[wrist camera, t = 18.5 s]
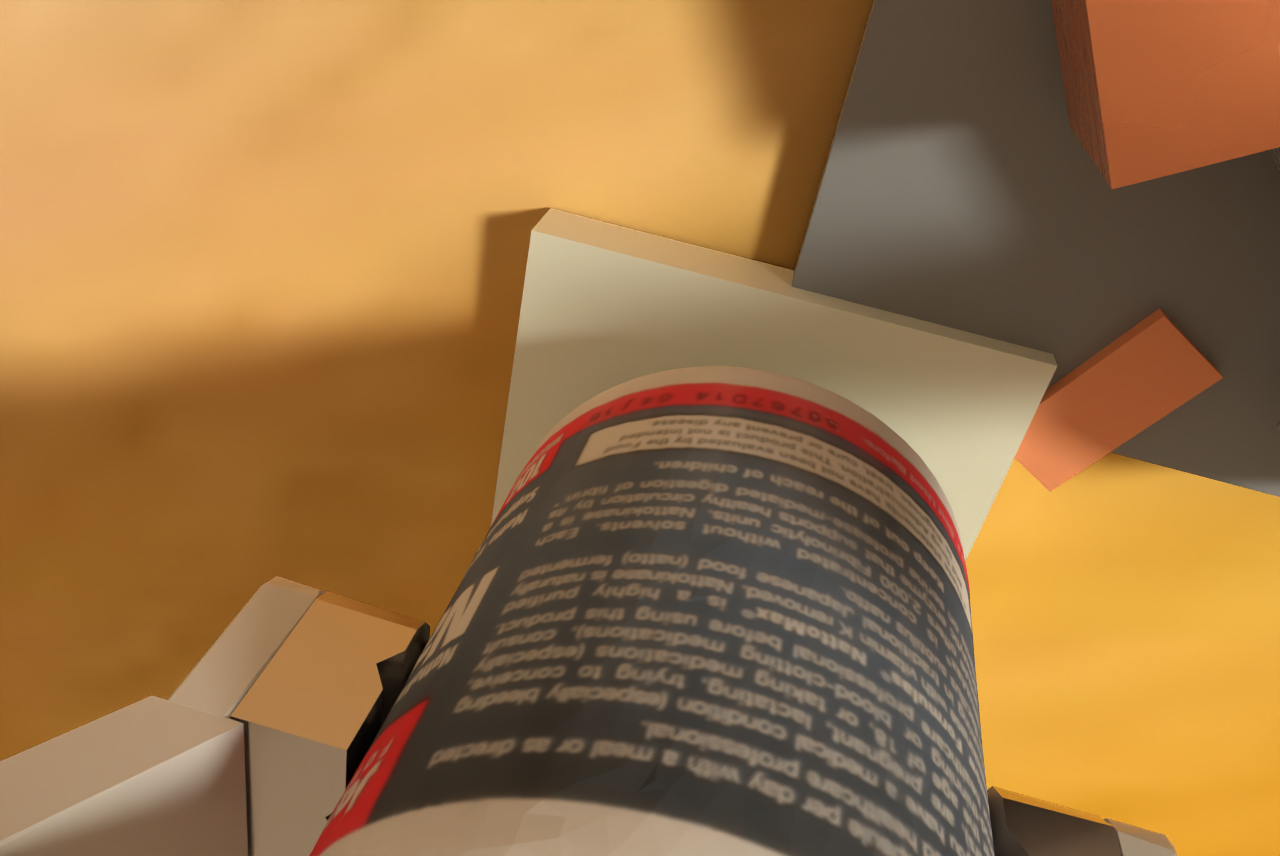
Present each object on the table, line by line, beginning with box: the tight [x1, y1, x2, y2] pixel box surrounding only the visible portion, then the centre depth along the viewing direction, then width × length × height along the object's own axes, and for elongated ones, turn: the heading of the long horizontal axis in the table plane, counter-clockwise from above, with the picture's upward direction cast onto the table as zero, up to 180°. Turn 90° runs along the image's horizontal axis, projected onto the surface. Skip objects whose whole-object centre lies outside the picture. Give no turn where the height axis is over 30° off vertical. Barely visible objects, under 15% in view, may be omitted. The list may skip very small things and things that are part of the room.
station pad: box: [490, 208, 1057, 561], centre depth 13 cm, size 6×6×1 cm
